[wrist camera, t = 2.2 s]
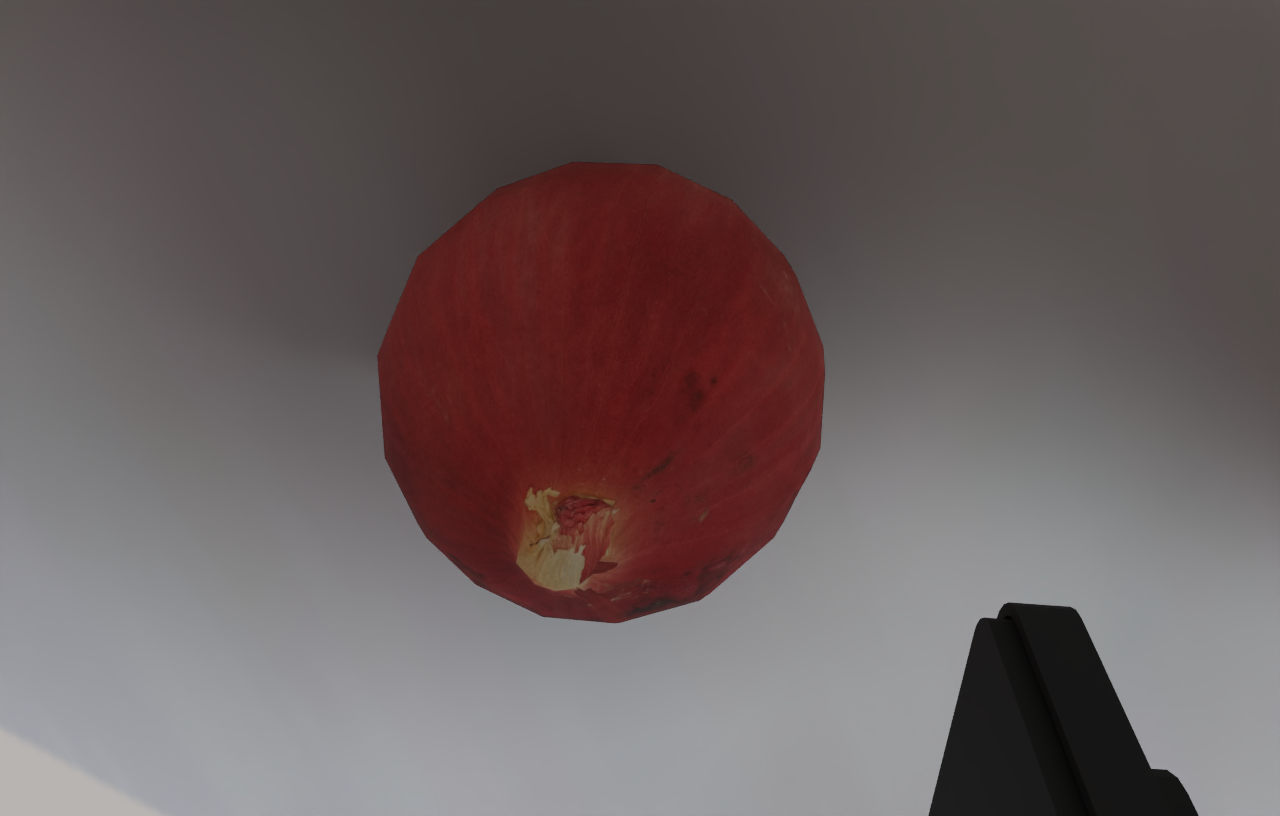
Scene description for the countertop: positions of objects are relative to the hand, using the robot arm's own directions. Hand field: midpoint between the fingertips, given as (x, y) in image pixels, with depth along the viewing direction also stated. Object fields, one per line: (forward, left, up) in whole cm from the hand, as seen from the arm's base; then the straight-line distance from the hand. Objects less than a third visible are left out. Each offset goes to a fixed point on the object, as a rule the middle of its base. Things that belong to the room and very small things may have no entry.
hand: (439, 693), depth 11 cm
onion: (-1, 0, -10) cm, 10 cm away
